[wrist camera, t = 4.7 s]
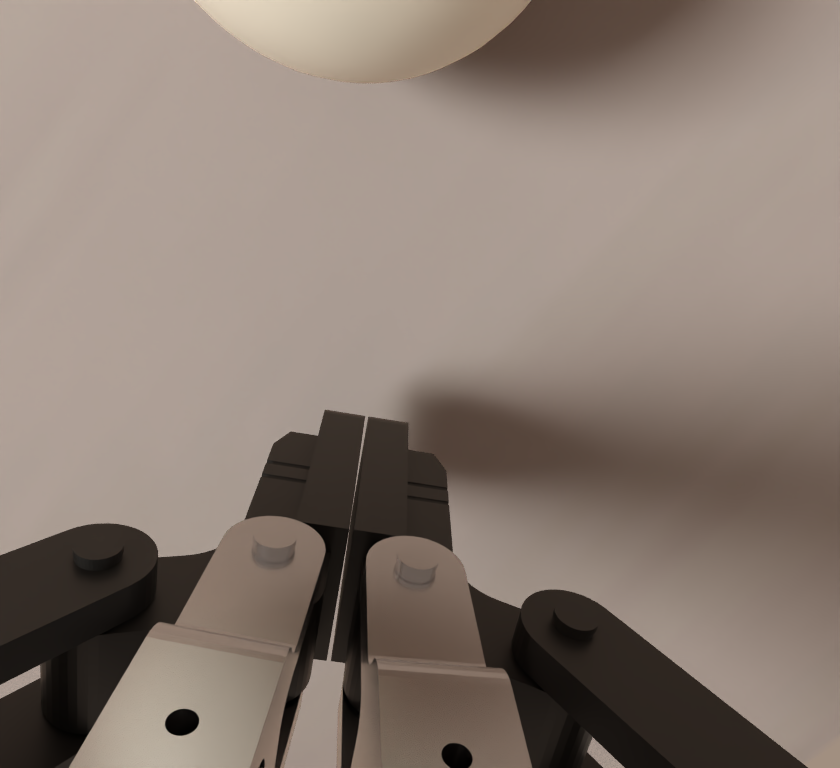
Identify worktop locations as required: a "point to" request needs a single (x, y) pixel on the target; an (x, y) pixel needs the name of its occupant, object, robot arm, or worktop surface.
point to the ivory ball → (364, 33)
